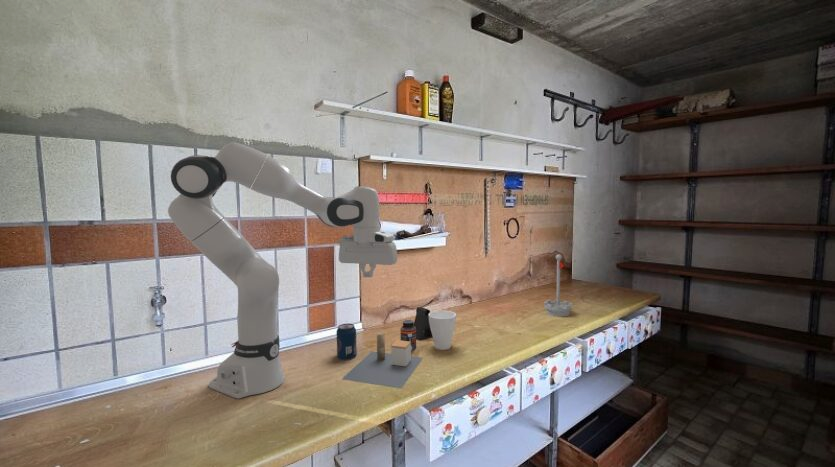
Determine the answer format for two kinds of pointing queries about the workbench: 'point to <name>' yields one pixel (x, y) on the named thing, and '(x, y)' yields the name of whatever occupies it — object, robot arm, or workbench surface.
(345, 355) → the soda can
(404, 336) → the supplement bottle
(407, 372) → the board
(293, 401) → the workbench surface
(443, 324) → the cup
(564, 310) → the flag stand
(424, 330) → the door stopper
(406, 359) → the white block tan top
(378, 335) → the birch dowel
